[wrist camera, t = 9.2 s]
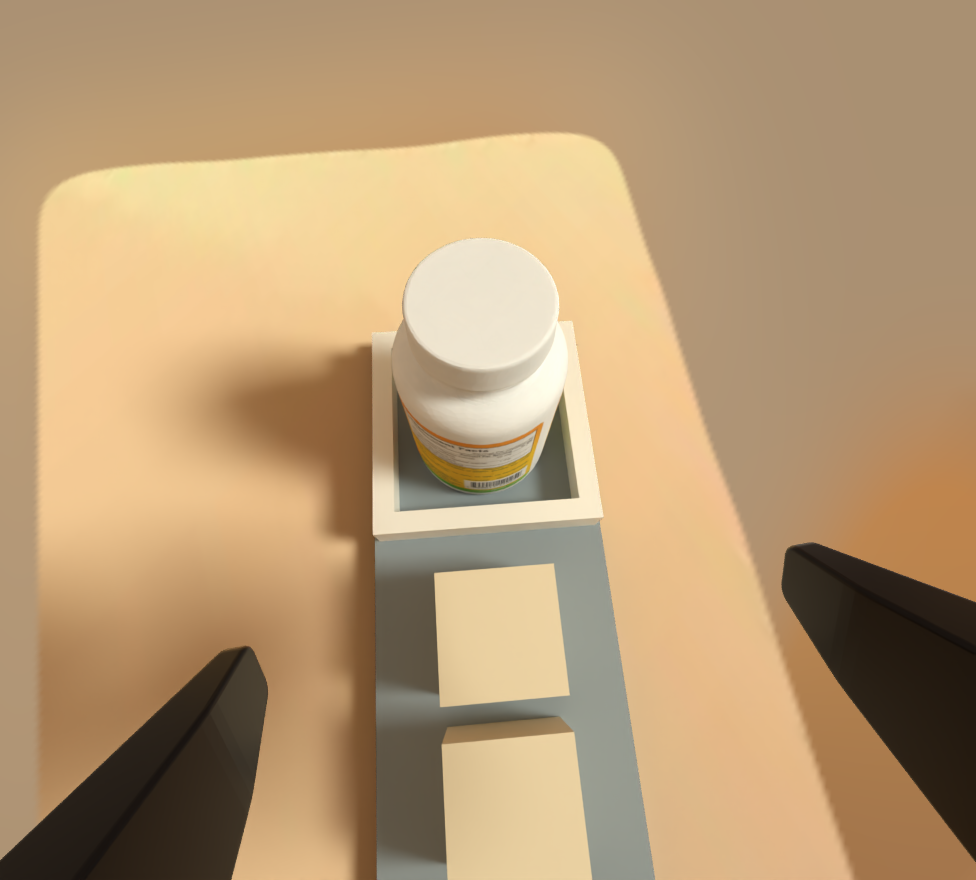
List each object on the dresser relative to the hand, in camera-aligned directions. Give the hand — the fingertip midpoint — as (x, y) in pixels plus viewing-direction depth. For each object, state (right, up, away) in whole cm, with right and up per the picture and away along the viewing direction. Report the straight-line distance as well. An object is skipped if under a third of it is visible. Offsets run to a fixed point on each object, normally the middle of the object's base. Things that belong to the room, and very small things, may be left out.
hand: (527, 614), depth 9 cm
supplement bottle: (-1, +3, +14) cm, 14 cm away
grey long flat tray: (0, -3, +12) cm, 13 cm away
